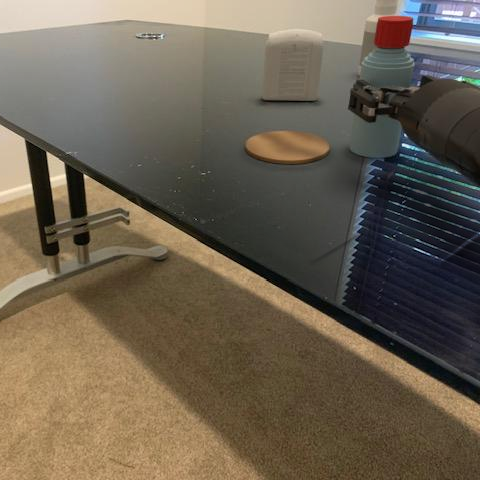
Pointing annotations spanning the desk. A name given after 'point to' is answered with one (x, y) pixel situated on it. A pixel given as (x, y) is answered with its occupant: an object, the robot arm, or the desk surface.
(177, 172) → the desk surface
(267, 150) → the coaster
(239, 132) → the desk surface
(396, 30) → the bottle cap
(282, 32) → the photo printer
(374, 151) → the bottle
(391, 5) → the beige tall canister
